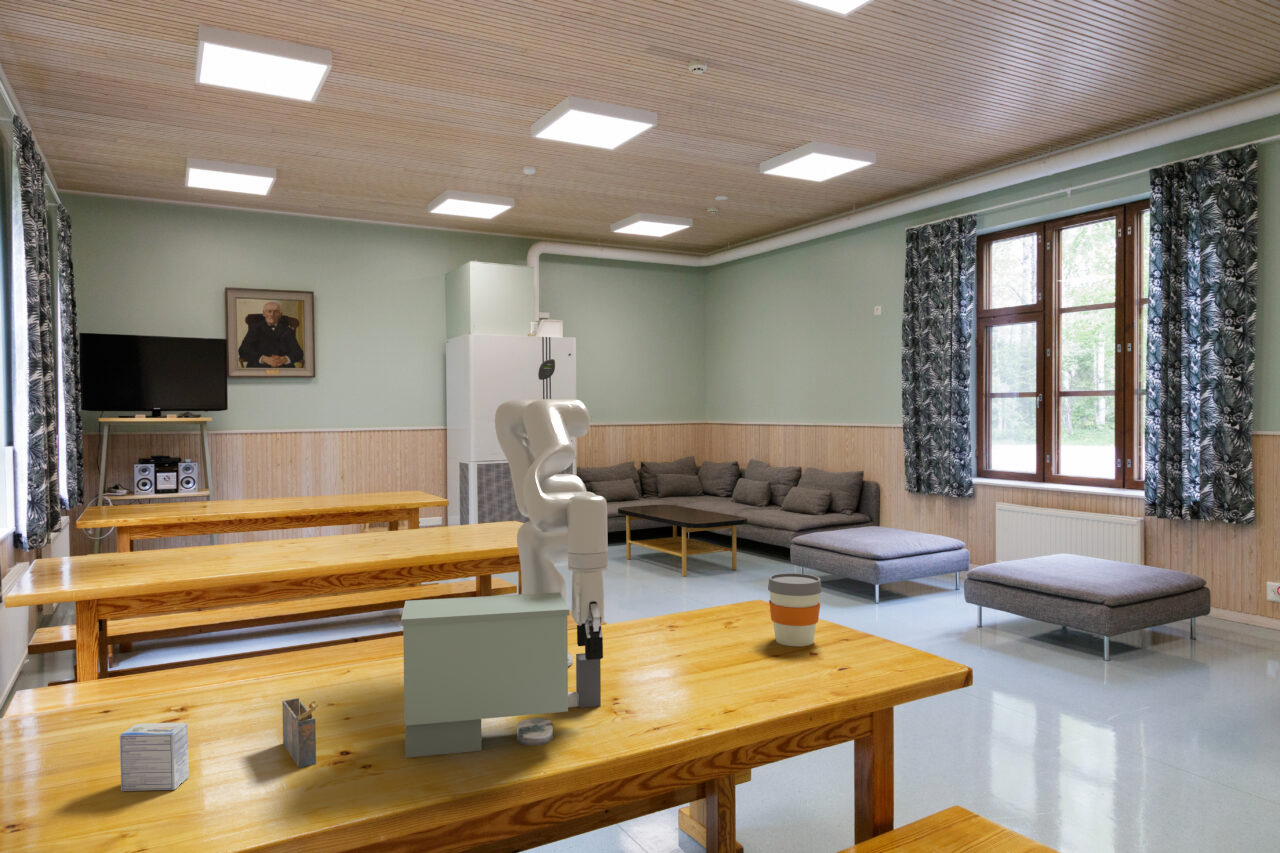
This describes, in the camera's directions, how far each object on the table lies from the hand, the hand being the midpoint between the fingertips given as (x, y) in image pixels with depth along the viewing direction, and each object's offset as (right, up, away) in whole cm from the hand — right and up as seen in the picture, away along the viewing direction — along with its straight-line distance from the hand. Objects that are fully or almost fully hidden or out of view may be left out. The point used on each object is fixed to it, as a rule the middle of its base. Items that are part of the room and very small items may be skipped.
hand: (589, 652), depth 155 cm
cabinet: (-16, -11, -16) cm, 25 cm away
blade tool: (-7, -10, 0) cm, 12 cm away
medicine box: (-63, -11, -32) cm, 71 cm away
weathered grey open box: (-46, -12, -21) cm, 52 cm away
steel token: (-8, -11, -15) cm, 20 cm away
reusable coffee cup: (+46, -9, +42) cm, 63 cm away
